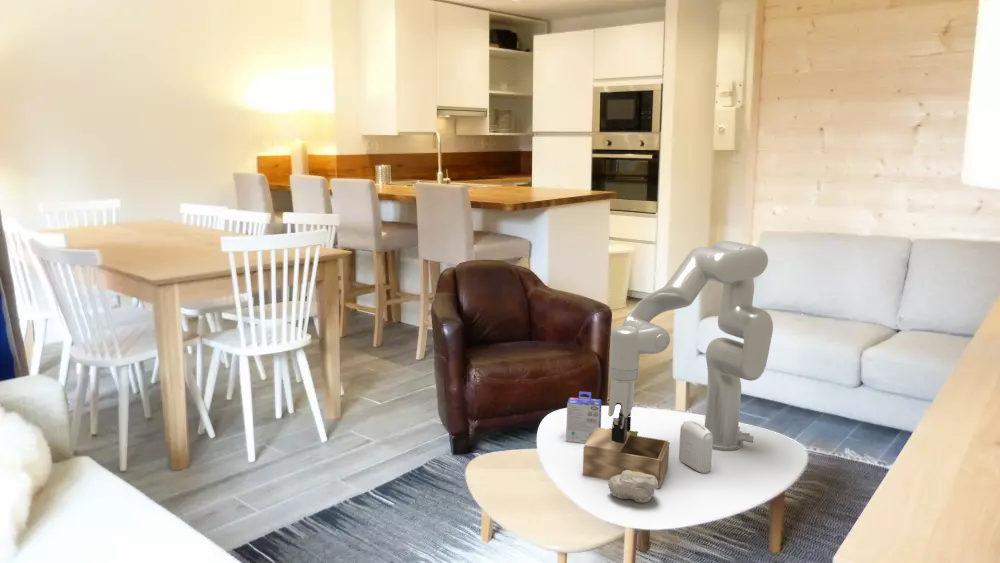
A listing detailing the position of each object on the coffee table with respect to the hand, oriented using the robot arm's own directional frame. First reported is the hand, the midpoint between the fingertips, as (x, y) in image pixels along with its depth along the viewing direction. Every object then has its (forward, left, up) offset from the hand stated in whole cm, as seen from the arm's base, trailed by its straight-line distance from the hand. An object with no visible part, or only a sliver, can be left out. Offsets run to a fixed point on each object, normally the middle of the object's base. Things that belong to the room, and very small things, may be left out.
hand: (621, 435), depth 202 cm
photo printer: (-19, -11, -11) cm, 24 cm away
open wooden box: (-2, 0, -10) cm, 10 cm away
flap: (+4, 0, -2) cm, 4 cm away
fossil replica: (-7, +14, -11) cm, 19 cm away
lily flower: (+5, -23, -11) cm, 26 cm away
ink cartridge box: (+14, -16, -11) cm, 24 cm away
